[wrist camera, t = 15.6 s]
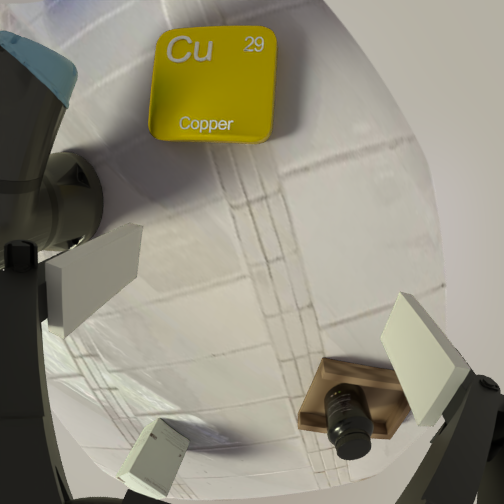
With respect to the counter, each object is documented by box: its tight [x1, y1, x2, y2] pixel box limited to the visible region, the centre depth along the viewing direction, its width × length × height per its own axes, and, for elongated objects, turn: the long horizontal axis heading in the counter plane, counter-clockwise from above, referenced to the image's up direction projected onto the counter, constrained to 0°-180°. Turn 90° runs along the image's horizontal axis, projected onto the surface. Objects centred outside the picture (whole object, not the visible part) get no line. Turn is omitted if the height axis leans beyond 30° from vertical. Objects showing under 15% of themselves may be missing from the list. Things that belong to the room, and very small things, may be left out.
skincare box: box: [116, 418, 190, 499], centre depth 48 cm, size 8×6×15 cm
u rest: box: [298, 358, 411, 439], centre depth 46 cm, size 17×12×4 cm
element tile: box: [148, 26, 278, 144], centre depth 35 cm, size 15×15×5 cm
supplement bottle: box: [324, 383, 374, 460], centre depth 41 cm, size 7×7×12 cm
